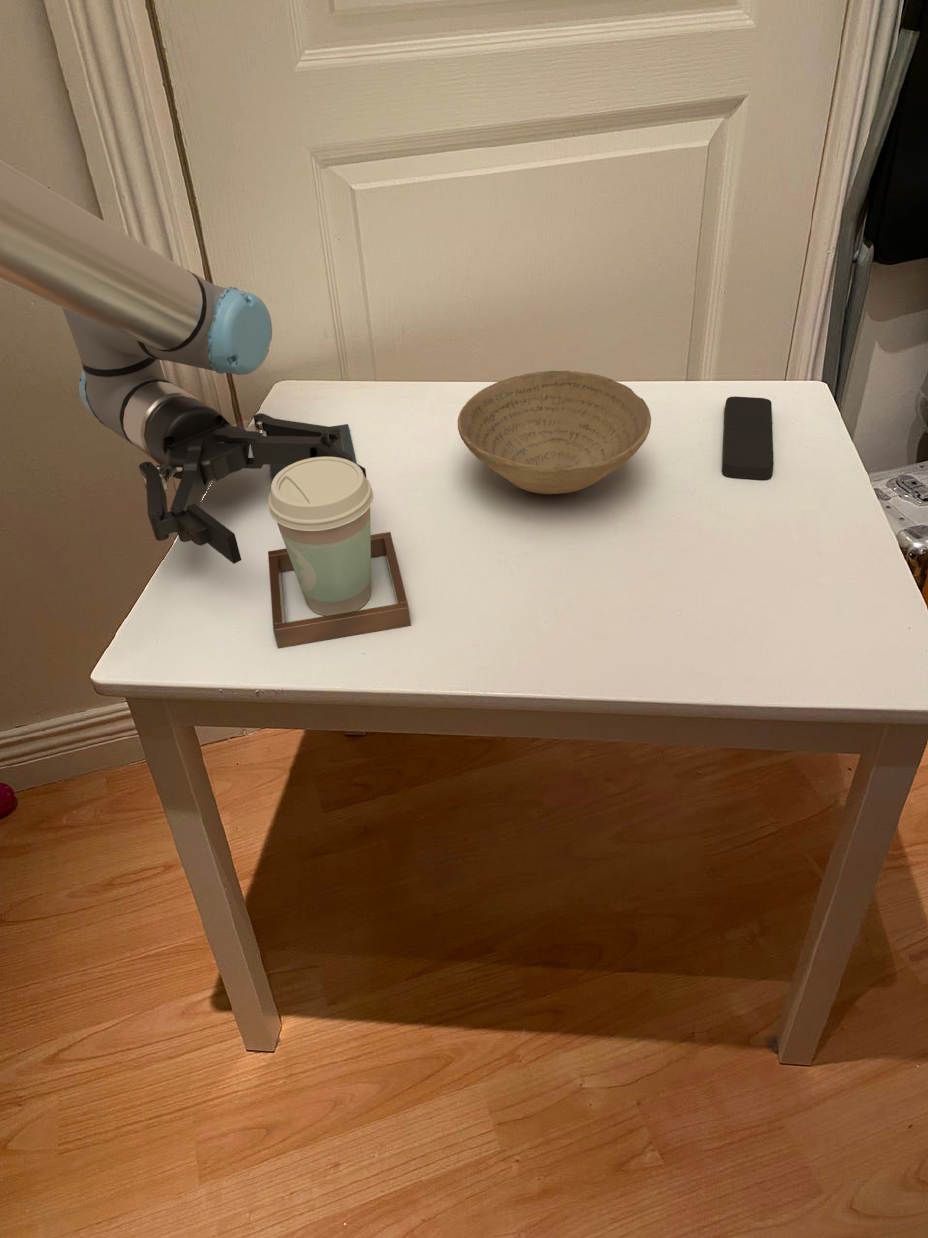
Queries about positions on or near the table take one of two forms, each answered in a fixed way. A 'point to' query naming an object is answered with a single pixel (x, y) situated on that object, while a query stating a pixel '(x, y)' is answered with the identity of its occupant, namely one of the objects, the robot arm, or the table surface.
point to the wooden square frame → (344, 621)
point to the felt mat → (346, 445)
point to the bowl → (554, 429)
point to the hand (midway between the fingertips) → (302, 514)
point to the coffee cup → (326, 531)
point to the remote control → (748, 438)
